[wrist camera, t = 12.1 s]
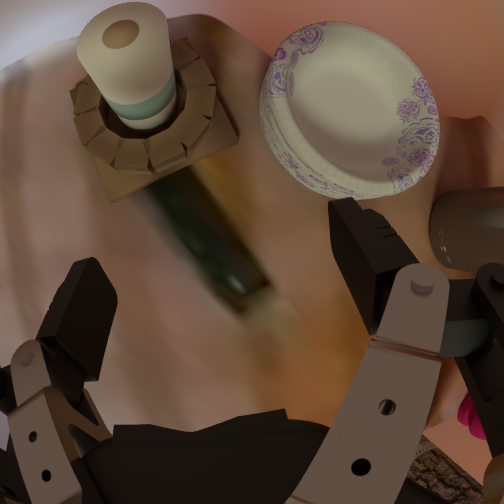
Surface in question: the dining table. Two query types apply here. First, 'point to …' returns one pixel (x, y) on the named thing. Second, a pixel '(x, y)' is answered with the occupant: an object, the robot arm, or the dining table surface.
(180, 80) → the holder
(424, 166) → the paper bowls
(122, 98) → the roll
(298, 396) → the dining table surface
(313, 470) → the robot arm
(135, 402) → the dining table surface
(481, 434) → the pepper mill
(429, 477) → the bark covered cylinder
